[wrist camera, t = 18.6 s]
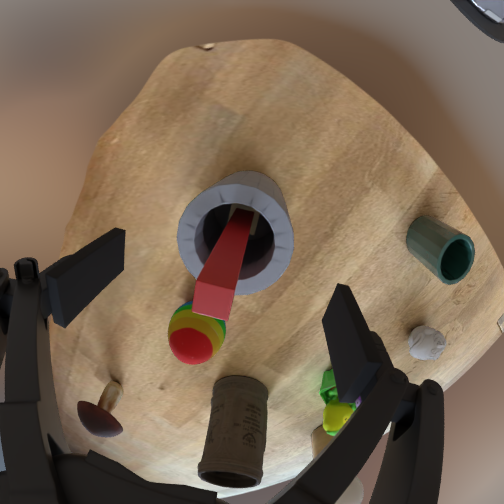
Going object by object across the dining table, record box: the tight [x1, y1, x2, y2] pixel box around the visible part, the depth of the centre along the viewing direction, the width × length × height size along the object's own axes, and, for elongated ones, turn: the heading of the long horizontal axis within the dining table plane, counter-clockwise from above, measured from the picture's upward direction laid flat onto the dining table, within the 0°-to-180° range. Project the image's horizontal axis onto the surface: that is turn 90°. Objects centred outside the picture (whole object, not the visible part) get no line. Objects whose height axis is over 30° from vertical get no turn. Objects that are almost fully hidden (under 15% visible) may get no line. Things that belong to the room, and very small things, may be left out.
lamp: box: [311, 425, 364, 504], centre depth 41 cm, size 15×14×25 cm
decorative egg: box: [168, 301, 226, 365], centre depth 36 cm, size 8×8×10 cm
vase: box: [177, 171, 294, 295], centre depth 28 cm, size 9×9×14 cm
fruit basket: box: [319, 369, 362, 436], centre depth 40 cm, size 11×9×11 cm
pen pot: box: [406, 215, 475, 285], centre depth 30 cm, size 7×7×9 cm
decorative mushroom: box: [77, 381, 123, 437], centre depth 44 cm, size 11×11×15 cm
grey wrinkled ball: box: [408, 326, 446, 360], centre depth 37 cm, size 6×7×7 cm
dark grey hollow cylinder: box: [198, 376, 268, 488], centre depth 39 cm, size 15×11×20 cm
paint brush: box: [192, 203, 260, 321], centre depth 24 cm, size 3×3×22 cm
